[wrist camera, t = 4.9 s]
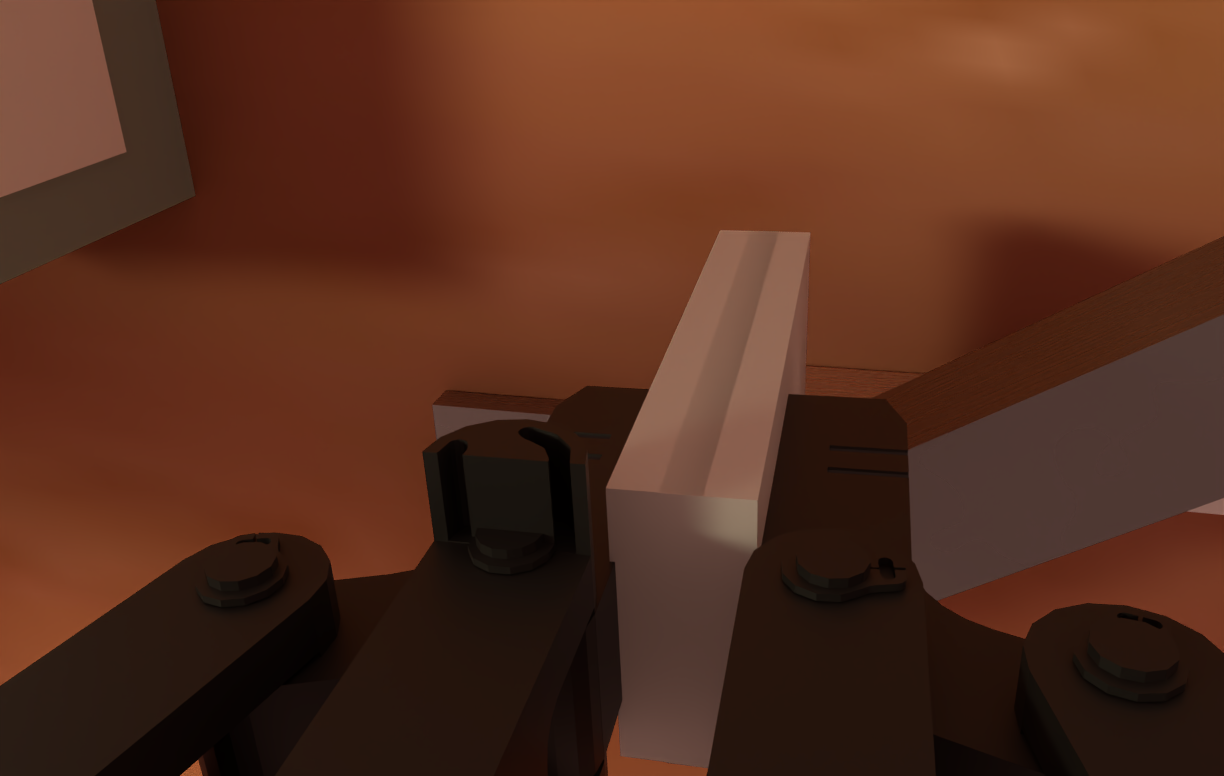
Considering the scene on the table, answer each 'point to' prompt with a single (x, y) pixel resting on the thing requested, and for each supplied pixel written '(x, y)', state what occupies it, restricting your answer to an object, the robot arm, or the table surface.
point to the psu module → (83, 126)
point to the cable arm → (1069, 428)
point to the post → (486, 409)
